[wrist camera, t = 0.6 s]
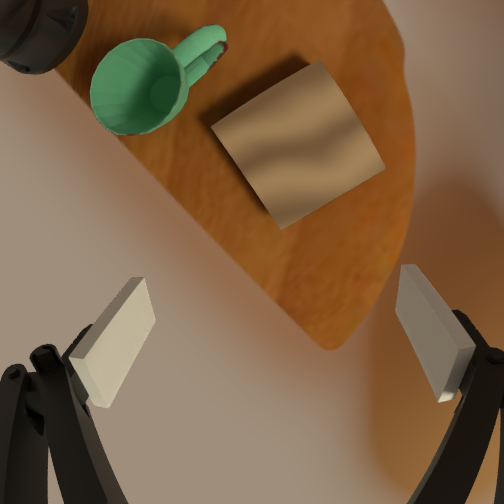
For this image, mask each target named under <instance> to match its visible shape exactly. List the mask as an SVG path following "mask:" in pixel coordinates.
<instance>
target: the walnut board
mask: <svg viewBox="0 0 504 504" xmlns="http://www.w3.org/2000/svg"><path fill="white" fill-rule="evenodd" d="M211 128H212V130H213V131H214V133H215V134H216V135H217V137H218V138H219V140H220V141H221V143H222V144H223V145H224V147H225V148H226V150H227V151H228V153H229V154H230V155H231V157H232V158H233V160H234V161H235V163H236V164H237V166H238V167H239V169H240V170H241V172H242V173H243V174H244V176H245V177H246V179H247V180H248V182H249V183H250V185H251V186H252V188H253V189H254V191H255V192H256V194H257V195H258V197H259V198H260V200H261V201H262V203H263V204H264V206H265V207H266V209H267V210H268V212H269V213H270V215H271V216H272V218H273V219H274V221H275V222H276V224H277V225H278V227H279V228H280V230H282V229H284V228H286V227H287V226H289V225H291V224H293V223H294V222H296V221H298V220H299V219H301V218H303V217H304V216H306V215H308V214H310V213H311V212H313V211H315V210H316V209H318V208H320V207H321V206H323V205H325V204H326V203H328V202H330V201H332V200H333V199H335V198H337V197H338V196H340V195H342V194H343V193H345V192H347V191H349V190H350V189H352V188H354V187H355V186H357V185H359V184H361V183H362V182H364V181H366V180H367V179H369V178H371V177H372V176H374V175H376V174H378V173H379V172H381V171H383V170H384V169H386V167H385V165H384V163H383V161H382V159H381V157H380V156H379V154H378V152H377V150H376V148H375V146H374V145H373V143H372V141H371V139H370V137H369V136H368V134H367V132H366V130H365V129H364V127H363V125H362V124H361V122H360V120H359V119H358V117H357V115H356V114H355V112H354V110H353V109H352V107H351V106H350V104H349V102H348V101H347V99H346V98H345V96H344V95H343V93H342V91H341V90H340V88H339V87H338V85H337V84H336V82H335V81H334V79H333V78H332V76H331V75H330V73H329V72H328V71H327V69H326V68H325V66H324V65H323V63H322V62H321V61H320V59H319V60H317V61H316V62H314V63H312V64H310V65H308V66H306V67H305V68H303V69H301V70H299V71H298V72H296V73H294V74H292V75H291V76H289V77H287V78H286V79H284V80H282V81H280V82H279V83H277V84H275V85H274V86H272V87H270V88H269V89H267V90H266V91H264V92H262V93H261V94H259V95H258V96H256V97H254V98H253V99H251V100H250V101H248V102H247V103H245V104H244V105H242V106H240V107H239V108H237V109H236V110H234V111H233V112H231V113H230V114H228V115H227V116H225V117H224V118H223V119H221V120H220V121H218V122H217V123H215V124H214V125H212V126H211Z"/></svg>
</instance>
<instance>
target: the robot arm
mask: <svg viewBox="0 0 504 504" xmlns="http://www.w3.org/2000/svg"><path fill="white" fill-rule="evenodd" d="M87 16H88V1H87V0H0V61H2V62H4V63H5V64H7V65H8V66H10V67H12V68H13V69H15V70H16V71H18V72H20V73H24V74H42V73H45V72H48V71H50V70H52V69H53V68H55V67H56V66H58V65H59V64H60V63H61V62H62V61H63V60H64V59H65V58H66V57H67V56H68V55H69V54H70V53H71V51H72V50H73V49H74V47H75V46H76V44H77V42H78V41H79V39H80V37H81V35H82V33H83V30H84V28H85V25H86V21H87ZM395 312H396V314H397V316H398V318H399V320H400V322H401V324H402V326H403V328H404V330H405V332H406V334H407V336H408V338H409V340H410V342H411V344H412V346H413V348H414V350H415V352H416V354H417V356H418V359H419V361H420V363H421V365H422V367H423V369H424V372H425V374H426V376H427V378H428V380H429V383H430V385H431V387H432V390H433V392H434V394H435V396H436V399H437V401H438V402H443V401H447V400H451V399H454V398H455V396H456V394H457V392H458V389H460V391H461V393H462V398H461V400H460V402H459V404H458V406H457V408H456V410H455V412H454V413H455V414H454V416H453V418H452V421H451V423H450V425H449V427H448V430H447V432H446V434H445V436H444V438H443V440H442V442H441V444H440V446H439V448H438V450H437V452H436V454H435V456H434V458H433V460H432V462H431V464H430V466H429V467H428V469H427V471H426V473H425V475H424V476H423V478H422V480H421V482H420V483H419V485H418V486H417V488H416V490H415V491H414V493H413V495H412V496H411V498H410V500H409V501H408V503H407V504H465V502H466V500H467V498H468V496H469V493H470V491H471V489H472V487H473V484H474V482H475V479H476V477H477V475H478V472H479V469H480V467H481V464H482V462H483V459H484V456H485V454H486V451H487V448H488V445H489V442H490V439H491V435H492V432H493V429H494V426H495V422H496V419H497V415H498V412H499V408H500V411H501V413H500V414H501V427H500V453H499V466H498V476H497V485H496V493H495V500H494V504H504V351H502V350H500V349H498V348H493V347H489V345H488V344H487V343H486V341H485V340H484V338H483V337H482V336H481V334H480V333H479V331H478V330H477V329H476V327H475V326H474V325H473V324H472V322H471V321H470V319H469V318H468V317H467V315H465V314H464V313H462V312H461V311H459V310H450V308H449V307H448V306H447V304H446V303H445V302H444V300H443V299H442V298H441V297H440V295H439V294H438V292H437V291H436V290H435V289H434V287H433V286H432V285H431V284H430V282H429V281H428V280H427V278H426V277H425V276H424V275H423V273H422V272H421V271H420V270H419V268H418V267H417V266H416V265H415V264H409V265H402V266H401V273H400V282H399V289H398V296H397V303H396V309H395ZM155 321H156V320H155V316H154V313H153V309H152V305H151V302H150V298H149V295H148V290H147V287H146V283H145V279H144V277H132V278H131V279H130V280H129V281H128V282H127V284H126V285H125V286H124V287H123V288H122V290H121V291H120V292H119V293H118V294H117V296H116V297H115V298H114V299H113V301H112V302H111V303H110V304H109V305H108V307H107V308H106V309H105V310H104V312H103V313H102V314H101V315H100V317H99V318H98V319H97V320H96V322H95V323H94V324H90V325H89V326H87V327H86V328H84V329H83V330H82V331H81V332H80V334H79V335H78V336H77V338H76V339H75V340H74V341H73V344H71V345H70V346H69V348H68V349H67V350H66V352H65V353H64V354H63V355H62V357H60V355H59V353H58V351H57V348H56V347H55V346H54V345H52V344H46V345H42V346H40V347H38V348H36V349H35V350H34V351H33V352H32V353H31V355H30V360H31V362H32V364H33V366H34V368H35V370H36V371H37V372H29V373H28V372H27V370H26V368H25V367H24V365H22V364H14V365H11V366H10V367H8V368H7V369H6V370H5V371H4V373H3V375H2V378H1V381H0V504H48V496H47V495H48V490H47V489H48V487H47V485H48V484H47V483H48V481H47V476H48V447H49V448H50V453H51V457H52V462H53V466H54V470H55V473H56V477H57V481H58V484H59V488H60V491H61V495H62V498H63V501H64V504H128V502H127V500H126V498H125V496H124V494H123V492H122V490H121V488H120V486H119V483H118V481H117V479H116V477H115V475H114V473H113V470H112V468H111V466H110V464H109V461H108V459H107V456H106V454H105V451H104V449H103V447H102V444H101V441H100V439H99V436H98V433H97V431H96V428H95V426H94V422H93V419H92V417H91V414H90V411H89V407H88V406H87V404H86V400H87V399H88V397H90V399H91V401H92V402H93V404H94V405H95V406H100V407H105V408H109V407H110V405H111V403H112V401H113V399H114V397H115V395H116V393H117V392H118V390H119V388H120V386H121V384H122V382H123V380H124V378H125V376H126V374H127V372H128V371H129V369H130V367H131V365H132V363H133V361H134V359H135V358H136V356H137V354H138V352H139V350H140V348H141V347H142V345H143V343H144V341H145V339H146V338H147V336H148V334H149V332H150V330H151V328H152V327H153V325H154V323H155Z"/></svg>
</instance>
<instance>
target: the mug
mask: <svg viewBox="0 0 504 504" xmlns="http://www.w3.org/2000/svg"><path fill="white" fill-rule="evenodd" d="M227 49H228V44H227V39H226V33H225V31H224V29H223V28H222V27H220V26H219V25H215V24H212V25H207V26H202V27H201V28H199V29H198V30H196V31H195V32H193V33H192V34H190V35H189V36H187V37H186V38H185V39H184V40H183V41H181V42H180V43H179V44H178V45H176V46H175V47H174V48H173V49H172V50H171V49H170V48H169V47H168V46H167V45H165V44H164V43H161V42H159V41H156V40H153V39H151V38H136V39H132V40H129V41H126V42H123V43H121V44H119V45H118V46H116V47H115V48H113V49H112V50H111V51H109V52H108V53H107V55H106V56H105V57H104V58H103V59H102V60H101V62H100V63H99V64H98V66H97V68H96V71H95V73H94V75H93V77H92V82H91V87H90V101H91V107H92V110H93V112H94V114H95V117H96V119H97V120H98V121H99V122H100V123H101V124H102V125H103V127H104V128H105V129H107V130H109V131H111V132H113V133H115V134H117V135H126V136H133V135H137V134H139V135H142V134H147V133H150V132H152V131H154V130H155V129H157V128H159V127H161V126H162V125H164V124H166V123H168V122H169V121H170V120H172V119H173V118H174V117H175V116H176V115H177V114H178V113H179V112H180V111H181V109H182V108H183V106H184V104H185V102H186V100H187V96H188V92H189V87H190V86H191V85H193V84H194V83H195V82H196V81H197V80H198V79H199V78H200V77H202V76H203V75H204V74H205V73H206V72H207V71H209V70H210V69H211V68H212V67H213V66H214V65H215V63H216V62H217V61H218V60H219V59H220V58H221V56H222V55H223V54H224V53H225V52H226V51H227Z"/></svg>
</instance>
